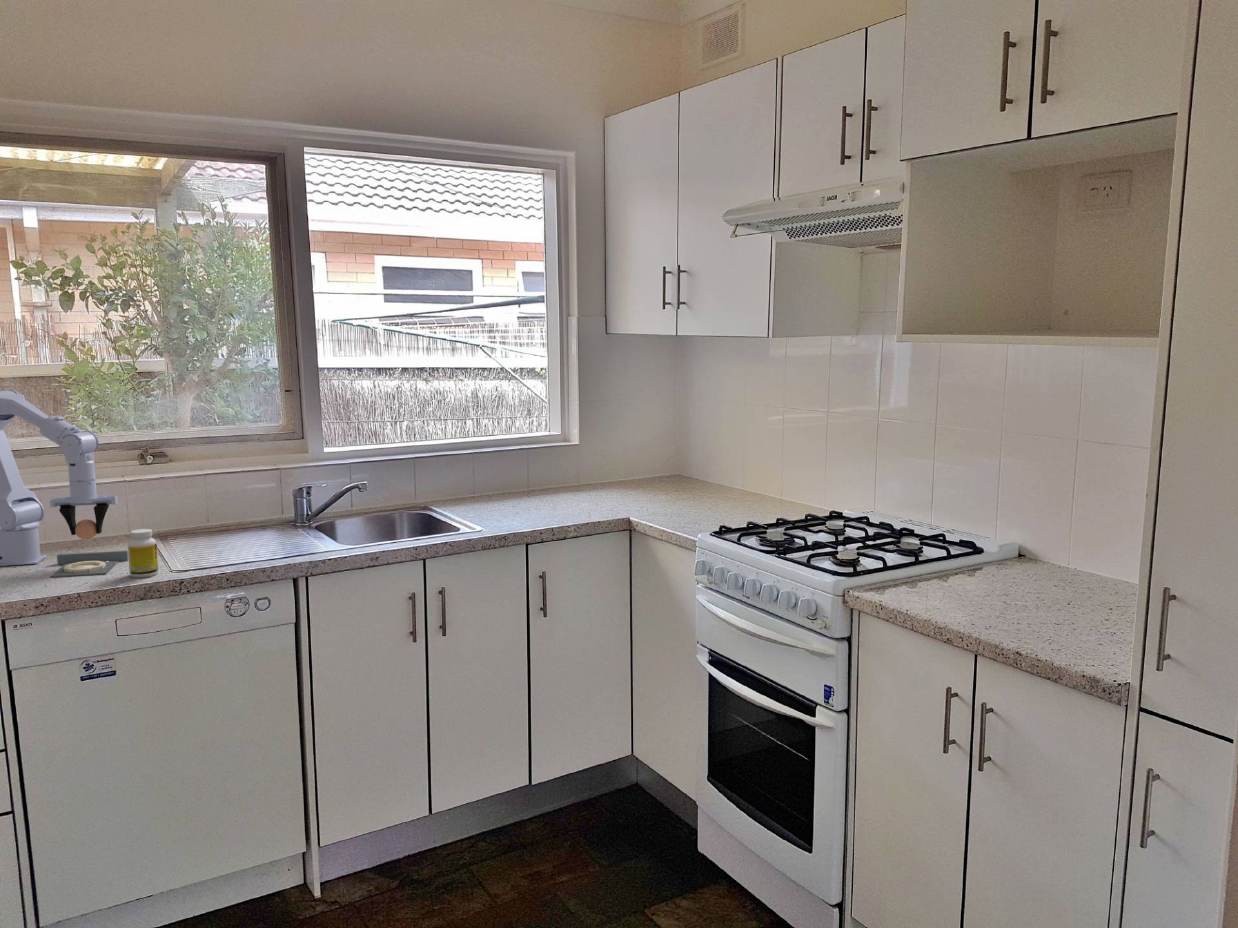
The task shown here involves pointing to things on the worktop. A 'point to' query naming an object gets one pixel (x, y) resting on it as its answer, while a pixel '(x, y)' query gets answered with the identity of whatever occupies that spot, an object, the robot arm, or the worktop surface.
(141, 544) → the pill bottle
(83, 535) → the ball
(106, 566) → the slate mat
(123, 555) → the acrylic wall
